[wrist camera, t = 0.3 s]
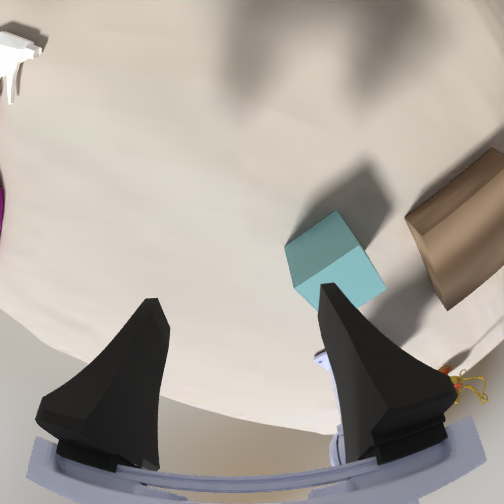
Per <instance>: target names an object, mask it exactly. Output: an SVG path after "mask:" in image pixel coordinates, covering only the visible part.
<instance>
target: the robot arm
mask: <svg viewBox="0 0 504 504" xmlns="http://www.w3.org/2000/svg"><path fill="white" fill-rule="evenodd" d="M318 321H319V326H320V331H321V336H322V340H323V343H324V346H325V349H326V351H325V352H323V353H321V354H319V355H317V356H315V357H314V362H316V363H317V364H318V365H320V366H321V367H323V368H324V369H326V370H327V371H328V372H330V376H331V380H332V384H333V389H334V393H335V397H336V402H337V406H338V411H339V415H340V420H341V424H340V425H338V426H337V430H338V433H337V434H335V435H334V436H333V438H332V441H331V443H330V447H329V455H330V461H331V465H332V467H328V468H322V469H316V470H310V471H303V472H295V473H286V474H276V475H262V476H237V477H236V476H230V477H228V476H197V475H183V474H174V473H165V472H158V470H159V469H160V466H159V455H158V425H157V424H158V403H159V393H160V386H161V382H162V377H163V372H164V367H165V363H166V358H167V353H168V348H169V338H170V326H169V324H168V322H167V319H166V317H165V315H164V312H163V310H162V307H161V305H160V303H159V300H158V298H148V299H145V300H144V301H143V302H142V304H141V305H140V306H139V307H138V309H137V310H136V311H135V313H134V314H133V315H132V316H131V318H130V319H129V320H128V322H127V323H126V324H125V325H124V327H123V328H122V329H121V330H120V332H119V333H118V334H117V335H116V336H115V337H114V339H113V340H112V341H111V342H110V343H109V345H108V346H107V347H106V348H105V349H104V350H103V351H102V352H101V353H100V354H99V355H98V356H97V357H96V358H95V359H94V360H93V361H92V362H91V363H90V364H89V365H88V366H86V367H85V368H84V369H83V370H82V371H81V372H79V373H78V374H77V375H76V376H75V377H73V378H72V379H71V380H69V381H68V382H66V383H65V384H64V385H62V386H61V387H59V388H58V389H56V390H54V391H53V392H51V393H49V394H48V395H46V396H44V397H42V400H41V403H40V406H39V409H38V412H37V415H36V418H35V420H36V422H37V424H38V425H39V426H40V427H42V428H43V429H44V430H46V431H47V432H48V433H50V434H51V435H53V436H54V437H56V438H57V439H59V442H58V444H56V443H54V442H51V441H49V440H46V439H44V438H41V437H38V436H36V438H35V442H34V445H33V449H32V453H31V457H30V461H29V466H28V470H27V475H26V477H27V478H28V479H30V480H32V481H33V482H35V483H37V484H39V485H41V486H43V487H45V488H47V489H49V490H51V491H53V492H55V493H57V494H59V495H61V496H63V497H65V498H67V499H70V500H72V501H74V502H76V503H79V504H229V503H203V502H188V498H187V497H184V496H180V495H176V494H173V493H171V492H170V491H165V490H159V489H155V488H150V487H148V486H147V485H149V486H155V487H161V488H168V489H177V490H185V491H198V492H215V493H217V492H218V493H252V492H271V491H283V490H291V489H300V488H308V487H314V486H320V485H326V484H331V483H336V482H340V483H336V484H332V485H329V486H324V487H320V488H316V489H312V491H311V493H310V494H308V499H307V500H298V501H289V502H275V503H251V504H419V501H418V499H419V498H421V497H423V496H425V495H427V494H429V493H432V492H434V491H436V490H437V489H440V488H441V487H443V486H445V485H447V484H449V483H451V482H453V481H455V480H456V479H458V478H460V477H462V476H463V475H465V474H467V473H469V472H470V471H472V470H473V469H475V468H477V467H478V466H480V465H482V464H483V463H485V462H486V460H487V459H486V456H485V452H484V450H483V446H482V443H481V440H480V438H479V435H478V432H477V429H476V426H475V424H474V421H473V419H472V416H471V415H469V416H467V417H465V418H463V419H461V420H459V421H457V422H455V423H453V424H451V425H449V426H448V427H446V428H444V424H443V422H445V416H444V414H443V413H444V412H445V411H446V410H447V409H448V408H449V407H450V406H451V405H452V404H453V403H454V402H455V401H456V399H457V397H458V394H457V391H456V389H455V386H454V384H453V382H452V380H451V378H450V376H448V375H446V374H444V373H442V372H440V371H438V370H435V369H433V368H431V367H429V366H428V365H426V364H424V363H422V362H421V361H419V360H417V359H416V358H414V357H412V356H411V355H410V354H408V353H407V352H405V351H404V350H402V349H401V348H399V347H398V346H397V345H395V344H394V343H393V342H391V341H390V340H389V339H388V338H387V337H385V336H384V335H383V334H382V333H381V332H380V331H379V330H378V329H376V328H375V327H374V326H373V325H372V324H371V323H370V322H369V321H368V320H367V319H366V318H365V317H364V316H363V315H362V314H361V312H360V311H359V310H358V309H357V308H356V307H355V306H354V305H353V304H352V303H351V301H350V300H349V299H348V298H347V297H346V296H345V294H344V293H343V292H342V291H341V290H340V288H339V287H338V286H337V285H336V284H335V283H334V282H333V283H324V284H320V296H319V307H318ZM249 504H250V503H249Z"/></svg>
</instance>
